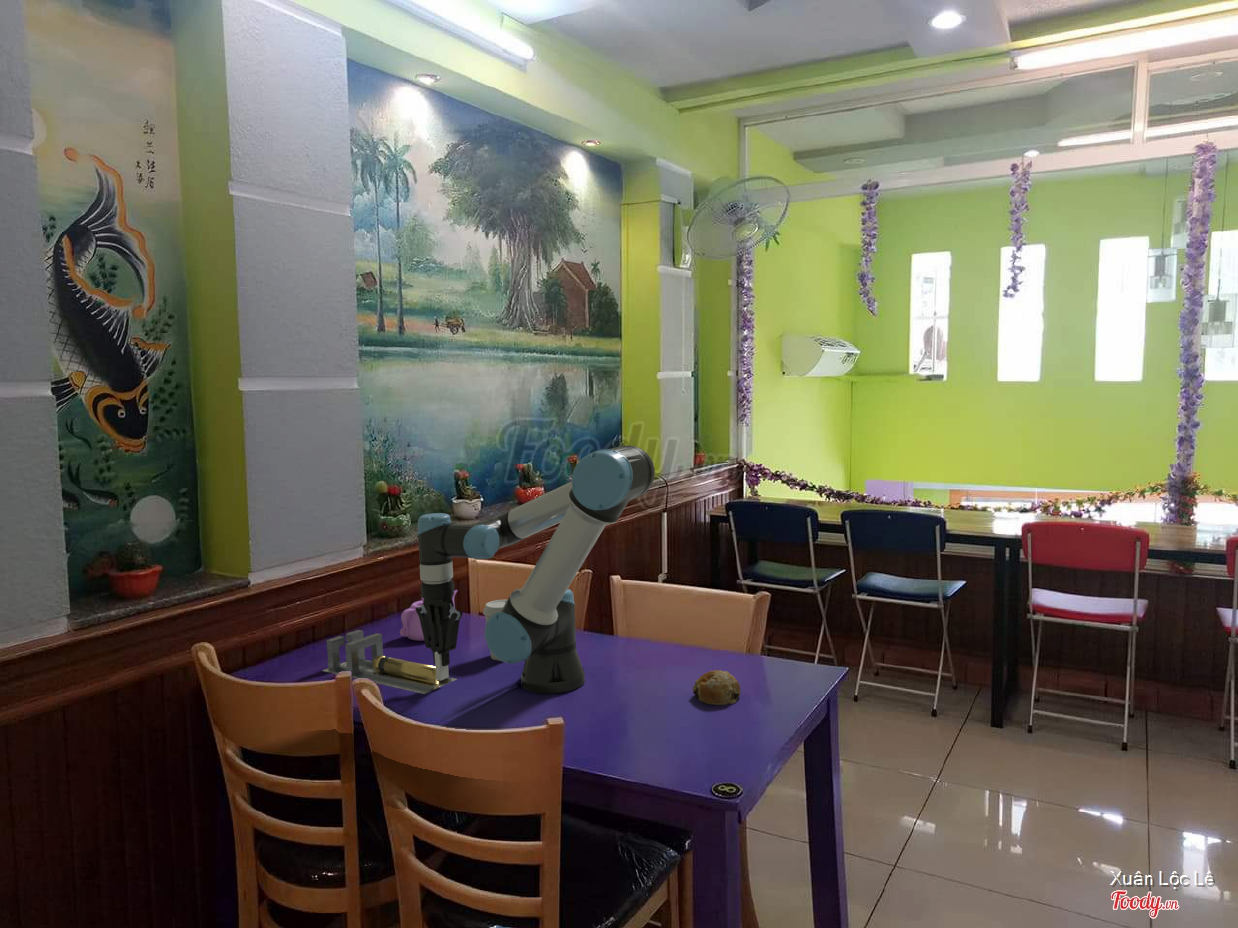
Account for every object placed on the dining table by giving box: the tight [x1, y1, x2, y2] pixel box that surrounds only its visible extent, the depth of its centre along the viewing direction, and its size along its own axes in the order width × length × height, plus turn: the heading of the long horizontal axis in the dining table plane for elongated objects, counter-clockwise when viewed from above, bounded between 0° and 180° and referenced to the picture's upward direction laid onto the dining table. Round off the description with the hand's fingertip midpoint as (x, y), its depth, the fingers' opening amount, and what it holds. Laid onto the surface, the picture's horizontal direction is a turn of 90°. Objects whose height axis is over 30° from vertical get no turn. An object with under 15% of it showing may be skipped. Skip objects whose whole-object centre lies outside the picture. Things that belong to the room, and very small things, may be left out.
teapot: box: [399, 589, 458, 642], centre depth 245 cm, size 20×14×12 cm
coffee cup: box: [482, 599, 508, 662], centre depth 223 cm, size 10×10×15 cm
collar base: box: [321, 629, 458, 695], centre depth 212 cm, size 36×11×9 cm, turn 57°
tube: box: [373, 655, 440, 684], centre depth 210 cm, size 20×4×4 cm, turn 57°
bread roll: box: [692, 669, 741, 706], centre depth 191 cm, size 10×10×8 cm
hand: (442, 678), depth 202 cm, fingers closed
